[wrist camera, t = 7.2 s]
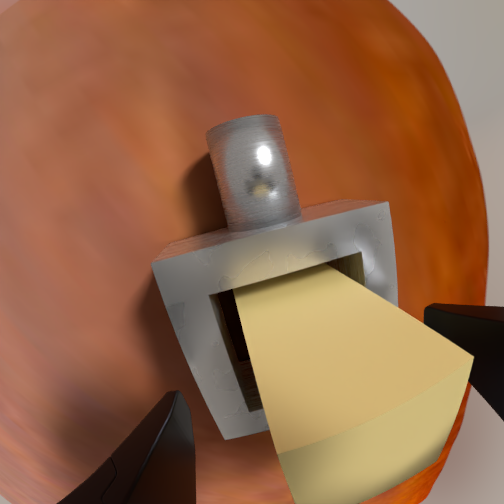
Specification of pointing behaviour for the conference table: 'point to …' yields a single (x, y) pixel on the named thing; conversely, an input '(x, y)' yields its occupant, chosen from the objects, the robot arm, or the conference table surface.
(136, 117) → the conference table surface
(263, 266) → the bracket head
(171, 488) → the robot arm
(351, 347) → the butter yellow block
